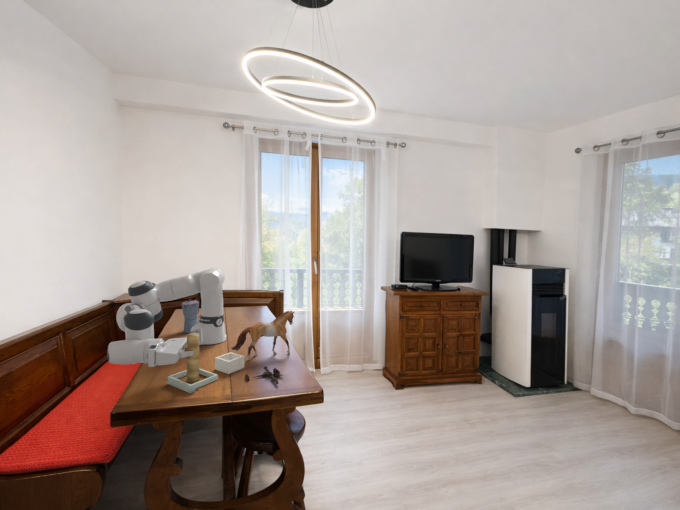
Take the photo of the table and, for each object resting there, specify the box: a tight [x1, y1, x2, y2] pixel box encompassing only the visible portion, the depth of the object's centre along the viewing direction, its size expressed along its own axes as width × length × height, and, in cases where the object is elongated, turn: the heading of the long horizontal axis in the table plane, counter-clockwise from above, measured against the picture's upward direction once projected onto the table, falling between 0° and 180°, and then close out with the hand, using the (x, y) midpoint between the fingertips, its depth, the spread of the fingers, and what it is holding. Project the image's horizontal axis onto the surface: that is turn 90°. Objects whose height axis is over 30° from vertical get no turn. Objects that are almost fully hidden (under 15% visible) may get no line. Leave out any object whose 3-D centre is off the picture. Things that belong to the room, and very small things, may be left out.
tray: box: [167, 367, 219, 394], centre depth 130 cm, size 14×12×3 cm
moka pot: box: [181, 297, 201, 334], centre depth 199 cm, size 10×15×20 cm, turn 172°
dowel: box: [186, 333, 200, 384], centre depth 129 cm, size 4×4×18 cm
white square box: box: [214, 351, 245, 375], centre depth 142 cm, size 8×8×6 cm
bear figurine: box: [244, 366, 284, 385], centre depth 135 cm, size 18×4×14 cm
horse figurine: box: [230, 310, 295, 361], centre depth 160 cm, size 31×8×21 cm, turn 123°
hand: (195, 348), depth 129 cm, fingers open, 8 cm apart
